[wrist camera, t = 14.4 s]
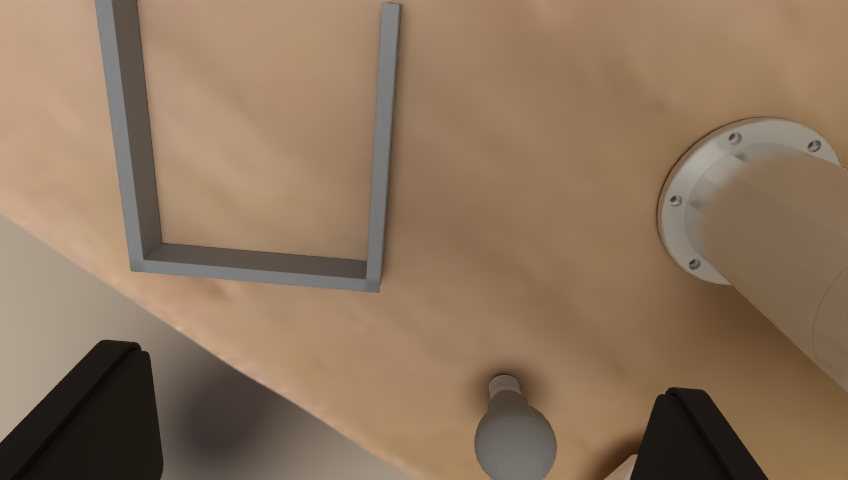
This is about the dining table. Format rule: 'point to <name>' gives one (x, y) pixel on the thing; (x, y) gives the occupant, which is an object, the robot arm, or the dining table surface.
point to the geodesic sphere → (623, 469)
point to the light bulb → (513, 435)
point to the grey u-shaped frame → (140, 184)
